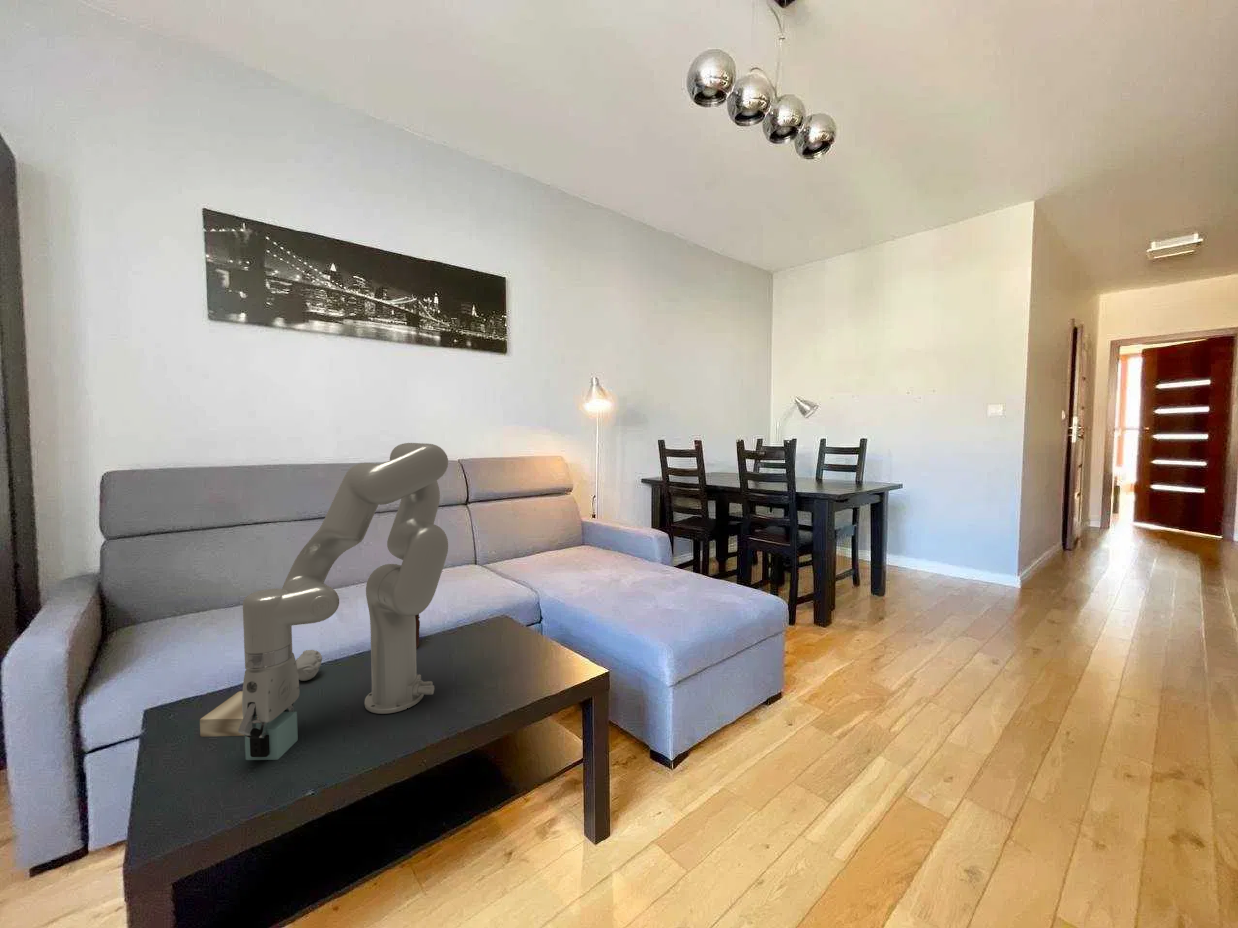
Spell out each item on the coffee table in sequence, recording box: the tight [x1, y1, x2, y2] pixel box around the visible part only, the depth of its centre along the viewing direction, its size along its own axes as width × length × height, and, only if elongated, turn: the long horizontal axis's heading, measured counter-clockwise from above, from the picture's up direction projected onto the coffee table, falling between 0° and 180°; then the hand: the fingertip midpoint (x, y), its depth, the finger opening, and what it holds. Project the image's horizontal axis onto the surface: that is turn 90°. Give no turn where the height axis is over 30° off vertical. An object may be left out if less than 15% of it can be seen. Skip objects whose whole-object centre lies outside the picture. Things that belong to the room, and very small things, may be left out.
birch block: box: [199, 690, 258, 738], centre depth 106 cm, size 11×11×4 cm
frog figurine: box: [295, 649, 323, 682], centre depth 124 cm, size 6×7×7 cm
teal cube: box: [244, 711, 299, 761], centre depth 96 cm, size 6×6×6 cm
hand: (272, 743), depth 96 cm, fingers closed on teal cube, 6 cm apart
